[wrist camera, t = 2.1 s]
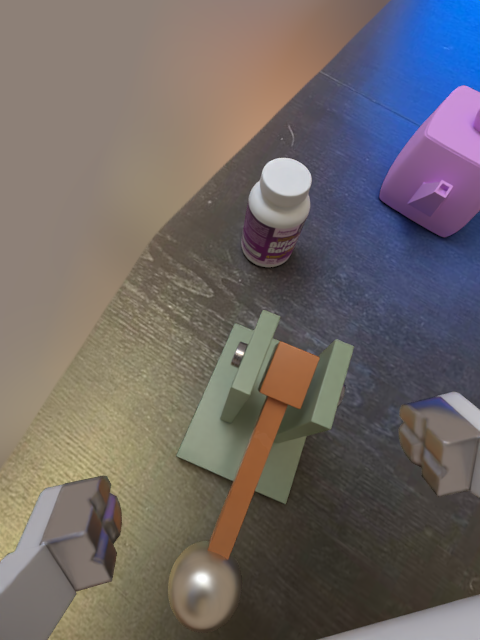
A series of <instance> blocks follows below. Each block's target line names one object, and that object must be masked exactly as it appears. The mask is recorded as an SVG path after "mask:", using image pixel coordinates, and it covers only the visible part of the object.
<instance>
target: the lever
mask: <svg viewBox="0 0 480 640" xmlns="http://www.w3.org/2000/svg"><path fill="white" fill-rule="evenodd" d="M319 359H320V357H318V356H316V355H313V354H311V353H308V352H306V351H304V350H301V349H299V348H296V347H294V346H291V345H289V344H286V343H284V342H282V341H280V342H278V343H277V344H276V345H275V347H274V349H273V352H272V354H271V357H270V359H269V362H268V364H267V367H266V369H265V372H264V374H263V377H262V379H261V382H260V384H259V387H258V391H259V392H260V393H262V394H264V395H266V399H265V401H264V404H263V406H262V409H261V411H260V414H259V416H258V419H257V422H256V424H255V427H254V429H253V432H252V434H251V437H250V439H249V442H248V444H247V447H246V449H245V452H244V454H243V457H242V460H241V462H240V465H239V467H238V470H237V472H236V475H235V477H234V480H233V482H232V485H231V487H230V490H229V492H228V495H227V498H226V500H225V503H224V505H223V508H222V510H221V513H220V515H219V518H218V520H217V523H216V525H215V528H214V530H213V533H212V536H211V538H210V541H209V540H206V541H199V542H196V543H194V544H192V545H190V546H189V547H187V548H186V549H185V550H184V551H183V552H182V553H181V554H180V555H179V557H178V558H177V560H176V561H175V563H174V565H173V567H172V570H171V573H170V577H169V583H168V596H169V602H170V606H171V609H172V611H173V613H174V615H175V617H176V618H177V620H178V621H179V622H180V623H181V624H182V625H183V626H184V627H186V628H187V629H189V630H191V631H194V632H198V633H208V632H212V631H215V630H217V629H219V628H221V627H222V626H223V625H225V624H226V623H227V622H228V621H229V620H230V618H231V617H232V616H233V614H234V612H235V611H236V609H237V606H238V604H239V601H240V597H241V591H242V576H241V571H240V568H239V565H238V562H237V560H236V558H235V557H234V555H233V554H232V553H231V552H232V549H233V546H234V544H235V541H236V539H237V536H238V533H239V531H240V528H241V526H242V523H243V520H244V518H245V515H246V512H247V510H248V507H249V505H250V502H251V499H252V497H253V494H254V492H255V489H256V486H257V484H258V481H259V479H260V476H261V473H262V471H263V468H264V466H265V463H266V460H267V458H268V455H269V453H270V450H271V447H272V445H273V442H274V440H275V437H276V434H277V432H278V429H279V427H280V424H281V421H282V419H283V416H284V414H285V411H286V408H287V406H288V405H290V406H292V407H295V408H297V409H301V407H302V404H303V401H304V399H305V396H306V394H307V391H308V388H309V386H310V383H311V380H312V378H313V375H314V372H315V370H316V367H317V364H318V362H319Z"/></svg>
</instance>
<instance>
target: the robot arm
mask: <svg viewBox="0 0 480 640" xmlns="http://www.w3.org/2000/svg"><path fill="white" fill-rule="evenodd" d="M400 417H401V418H402V420H403V421H404V422H403V424H402V425H401V426H400V428H399V440H400V443H401V447H402V449H403V451H404V453H405V455H406V456H407V457H408V459H409V460H410V461H411V463H413V464H415V465H417V466H419V467H421V468H422V477H423V478H424V480H425V481H426V482H427V484H428V485H429V486H430V487H431V489H432V490H433V491H434V493H435V494H436V495H437V496H438V497H442V496H446V495H451V494H455V493H460V492H464V491H468V490H470V492H471V493H473V494H474V495H476V496H478V497H479V498H480V410H479V409H478V408H477V407H475V406H474V405H473V404H472V403H470V402H469V401H468V400H467V399H466V398H464V397H463V396H462V395H461V394H459V393H456V392H451V393H447V394H443V395H439V396H436V397H431V398H427V399H423V400H419V401H415V402H411V403H407V404H403V405H402V406H401V408H400ZM110 488H111V483H110V481H109V479H108V477H107V476H98V477H94V478H89V479H84V480H79V481H75V482H70V483H65V484H63V485H58V486H53V487H48V488H45V489H44V490H43V491H42V492H41V493H40V495H39V497H38V500H37V502H36V504H35V507H34V509H33V511H32V513H31V516H30V518H29V520H28V522H27V525H26V527H25V529H24V531H23V534H22V536H21V538H20V540H19V543H18V545H17V547H16V550H15V552H12V553H8V554H7V555H6V556H5V557H4V558H3V559H2V560H1V561H0V640H48V638H49V636H50V635H51V633H52V632H53V630H54V629H55V627H56V625H57V624H58V622H59V621H60V619H61V617H62V616H63V614H64V613H65V611H66V610H67V608H68V606H69V605H70V603H71V602H72V600H73V599H74V597H75V595H76V591H80V590H83V589H87V588H90V587H93V586H97V585H100V584H104V583H107V582H111V581H112V578H113V573H114V567H115V561H116V556H117V552H116V550H115V548H114V546H113V544H114V542H115V541H116V540H117V538H118V537H119V536H120V532H121V526H122V512H121V507H120V503H119V501H118V498H117V496H115V495H113V494H111V493H110ZM318 640H480V594H479V595H475V596H472V597H468V598H465V599H461V600H457V601H454V602H450V603H447V604H443V605H439V606H436V607H432V608H429V609H425V610H422V611H418V612H414V613H411V614H407V615H404V616H400V617H396V618H393V619H389V620H386V621H382V622H378V623H375V624H371V625H368V626H364V627H361V628H357V629H353V630H350V631H346V632H343V633H339V634H335V635H332V636H328V637H325V638H321V639H318Z"/></svg>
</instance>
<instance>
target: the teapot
mask: <svg viewBox="0 0 480 640" xmlns="http://www.w3.org/2000/svg"><path fill="white" fill-rule="evenodd" d="M379 198H380V199H381V200H382V201H383V202H384V203H386V204H387V205H389V206H390V207H392V208H393V209H395V210H396V211H398V212H400V213H401V214H403V215H404V216H406V217H408V218H409V219H411V220H413V221H414V222H416V223H418V224H419V225H421V226H423V227H425V228H426V229H428V230H430V231H431V232H433V233H435V234H437V235H439V236H441V237H447V236H450V235H452V234H454V233H455V232H457V231H458V230H460V229H461V228H462V227H464V226H465V225H466V224H467V223H468V222H469V221H470V220H471V219H472V218H473V217H474V216H475V215H476V214H477V212H478V211H479V210H480V92H478V91H475V90H473V89H471V88H469V87H467V86H465V85H463V86H460V87H458V88H456V89H455V90H454V91H453V92H452V93H451V94H450V95H449V96H448V97H447V98H446V99H445V100H444V101H443V102H442V104H441V105H440V106H439V107H438V108H437V109H436V110H435V111H434V112H433V113H432V114H431V115H430V117H429V118H428V119H427V120H426V121H425V122H424V123H423V124H422V125H421V127H420V128H419V129H418V130H417V131H416V132H415V134H414V135H413V136H412V137H411V139H410V140H409V141H408V143H407V144H406V145H405V147H404V148H403V149H402V151H401V152H400V154H399V155H398V157H397V158H396V160H395V161H394V163H393V164H392V166H391V168H390V170H389V172H388V174H387V176H386V177H385V180H384V182H383V184H382V187H381V190H380V195H379Z"/></svg>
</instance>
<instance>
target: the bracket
mask: <svg viewBox="0 0 480 640" xmlns="http://www.w3.org/2000/svg"><path fill="white" fill-rule="evenodd" d="M279 320H280V316H278V315H275V314H273V313H270V312H268V311H265V310H263V311H262V313H261V315H260V318H259V320H258V322H257V325H256V327H255V330H254V331H253V330H251V329H248V328H246V327H243V326H241V325H239V324H236V323H235V324H234V327H233V329H232V331H231V333H230V336H229V338H228V340H227V342H226V345H225V347H224V349H223V351H222V354H221V356H220V358H219V360H218V363H217V365H216V367H215V369H214V372H213V374H212V376H211V378H210V381H209V383H208V385H207V387H206V390H205V392H204V394H203V396H202V399H201V401H200V403H199V405H198V408H197V410H196V412H195V414H194V417H193V419H192V421H191V423H190V426H189V428H188V430H187V433H186V435H185V437H184V439H183V442H182V444H181V446H180V448H179V451H178V453H177V455H176V456H177V457H179V458H181V459H183V460H186V461H188V462H190V463H193V464H195V465H197V466H199V467H202V468H204V469H206V470H208V471H211V472H213V473H215V474H218V475H220V476H222V477H224V478H227V479H229V480H231V481H233V480H234V477H235V475H236V472H237V470H238V467H239V465H240V462H241V460H242V457H243V454H244V452H245V449H246V447H247V444H248V442H249V439H250V437H251V434H252V432H253V429H254V427H255V424H256V422H257V419H258V416H259V414H260V411H261V409H262V406H263V404H264V401H265V399H266V395H264V394H262V393H260V392H259V391H258V387H259V384H260V382H261V379H262V377H263V374H264V372H265V369H266V367H267V364H268V362H269V359H270V357H271V354H272V352H273V349H274V347H275V345H276V344H277V343H278V342H280V341H278V340H275V339H273V336H274V333H275V331H276V328H277V325H278V323H279ZM353 348H354V346H352V345H349V344H347V343H344V342H342V341H339V340H337V339H336V340H335V341H334V342H333V343H332V344H330V345H329V346H328V347H327V348H326V349H325V350H324V351H323V352H322V353H321V354H320V355H319V356H318V357H320V359H319V362H318V364H317V367H316V370H315V372H314V375H313V378H312V380H311V383H310V386H309V388H308V391H307V394H306V396H305V399H304V401H303V404H302V407H301V409H297V408H295V407H292V406H290V405H288V406H287V408H286V411H285V414H284V416H283V419H282V421H281V424H280V427H279V429H278V432H277V434H276V437H275V440H274V442H273V445H272V447H271V450H270V453H269V455H268V458H267V460H266V463H265V466H264V468H263V471H262V473H261V476H260V479H259V481H258V484H257V486H256V489H255V491H256V492H258V493H261V494H263V495H265V496H267V497H270V498H272V499H274V500H277V501H279V502H281V503H283V504H286V502H287V499H288V495H289V492H290V489H291V486H292V482H293V479H294V476H295V473H296V469H297V466H298V463H299V459H300V456H301V453H302V450H303V446H304V443H305V440H306V436H308V435H312V434H316V433H319V432H323V431H327V430H330V429H331V427H332V424H333V420H334V416H335V413H336V409H337V408H338V406H339V405H340V403H341V402H342V399H343V397H344V393H345V385H344V381H345V377H346V373H347V370H348V366H349V363H350V359H351V356H352V352H353Z"/></svg>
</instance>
